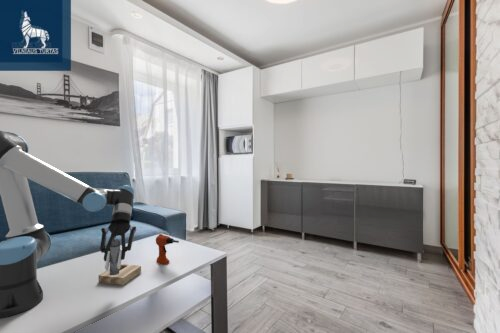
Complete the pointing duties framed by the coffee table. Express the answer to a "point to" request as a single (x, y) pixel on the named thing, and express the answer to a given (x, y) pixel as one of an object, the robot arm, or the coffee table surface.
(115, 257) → the metal round-headed rod
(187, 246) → the coffee table surface
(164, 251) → the toy drill
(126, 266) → the block
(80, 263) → the coffee table surface
